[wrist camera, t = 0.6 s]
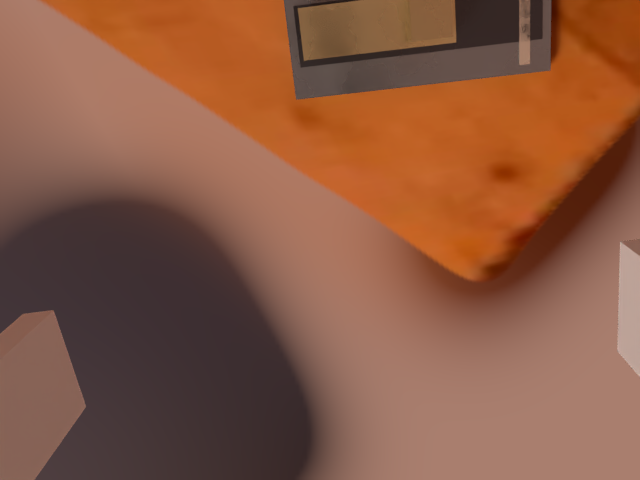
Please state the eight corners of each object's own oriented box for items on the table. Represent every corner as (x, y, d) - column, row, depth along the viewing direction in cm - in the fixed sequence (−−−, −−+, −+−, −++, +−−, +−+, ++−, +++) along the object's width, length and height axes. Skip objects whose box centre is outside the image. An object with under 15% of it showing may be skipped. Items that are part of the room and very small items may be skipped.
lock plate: (282, -25, 33) (280, -28, 32) (544, -59, 32) (552, -64, 31) (297, 97, 35) (296, 99, 34) (543, 69, 34) (551, 70, 33)
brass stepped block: (302, 11, 32) (294, 5, 27) (443, -6, 32) (461, -17, 27) (307, 59, 33) (301, 61, 28) (446, 43, 32) (463, 41, 28)
